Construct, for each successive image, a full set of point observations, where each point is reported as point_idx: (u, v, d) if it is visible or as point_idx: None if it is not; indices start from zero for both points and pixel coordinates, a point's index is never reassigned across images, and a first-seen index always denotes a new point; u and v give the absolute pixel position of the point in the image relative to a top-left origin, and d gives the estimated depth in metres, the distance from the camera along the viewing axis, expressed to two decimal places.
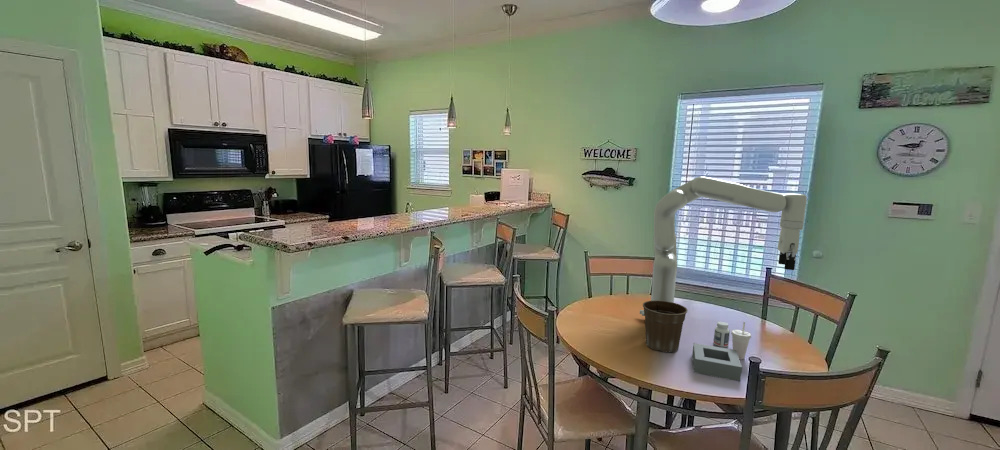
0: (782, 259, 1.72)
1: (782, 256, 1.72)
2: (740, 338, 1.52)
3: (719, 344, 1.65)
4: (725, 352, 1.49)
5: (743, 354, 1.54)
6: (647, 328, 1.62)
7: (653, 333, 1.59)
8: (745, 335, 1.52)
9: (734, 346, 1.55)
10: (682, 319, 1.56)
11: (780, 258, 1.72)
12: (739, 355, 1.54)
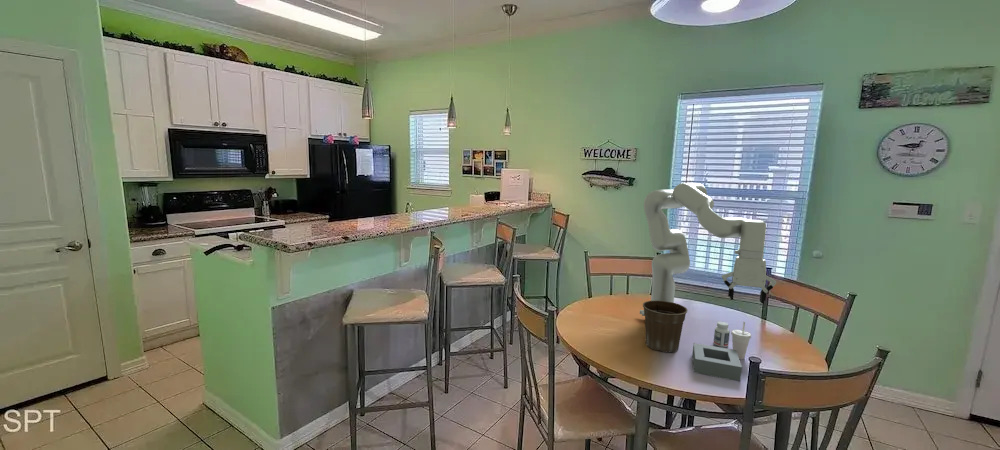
0: None
1: None
2: (740, 338, 1.52)
3: (719, 344, 1.65)
4: (725, 352, 1.49)
5: (743, 354, 1.54)
6: (647, 328, 1.62)
7: (653, 333, 1.59)
8: (745, 335, 1.52)
9: (734, 346, 1.55)
10: (682, 319, 1.56)
11: None
12: (739, 355, 1.54)
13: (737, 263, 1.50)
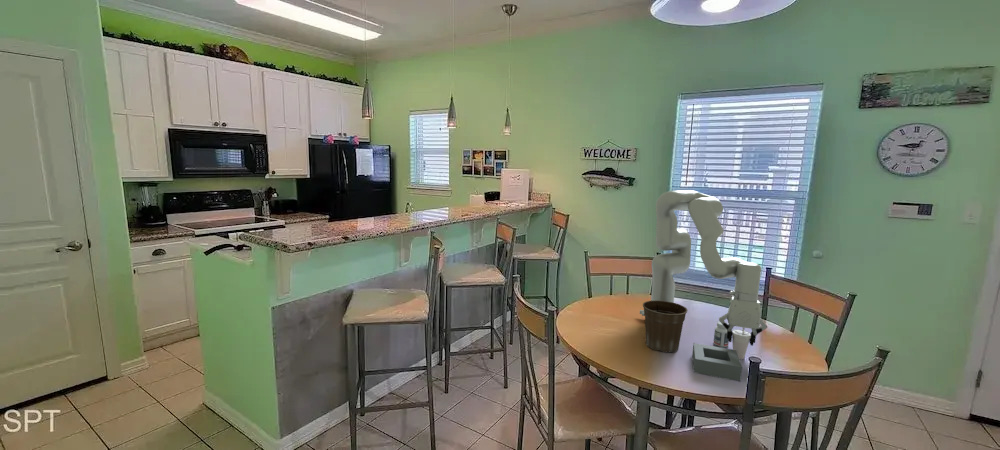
0: (731, 336, 1.55)
1: None
2: (740, 338, 1.52)
3: (719, 344, 1.65)
4: (725, 352, 1.49)
5: (743, 354, 1.54)
6: (647, 328, 1.62)
7: (653, 333, 1.59)
8: (746, 335, 1.52)
9: (734, 346, 1.55)
10: (682, 319, 1.56)
11: (731, 336, 1.55)
12: (739, 355, 1.54)
13: (732, 304, 1.52)
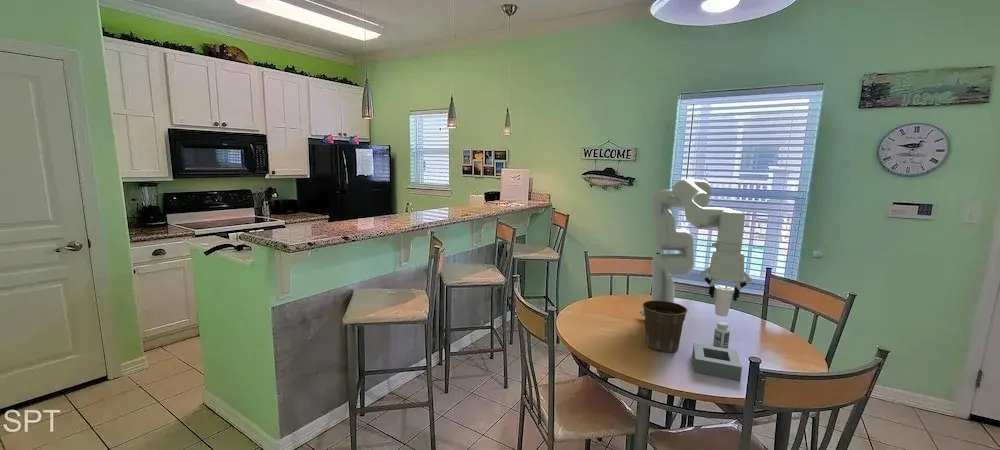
0: (713, 291, 1.44)
1: None
2: (723, 293, 1.41)
3: (719, 344, 1.65)
4: (725, 352, 1.49)
5: (726, 310, 1.43)
6: (647, 328, 1.62)
7: (653, 333, 1.59)
8: (729, 290, 1.41)
9: (716, 302, 1.44)
10: (682, 319, 1.56)
11: (713, 291, 1.44)
12: (722, 311, 1.43)
13: (714, 256, 1.41)
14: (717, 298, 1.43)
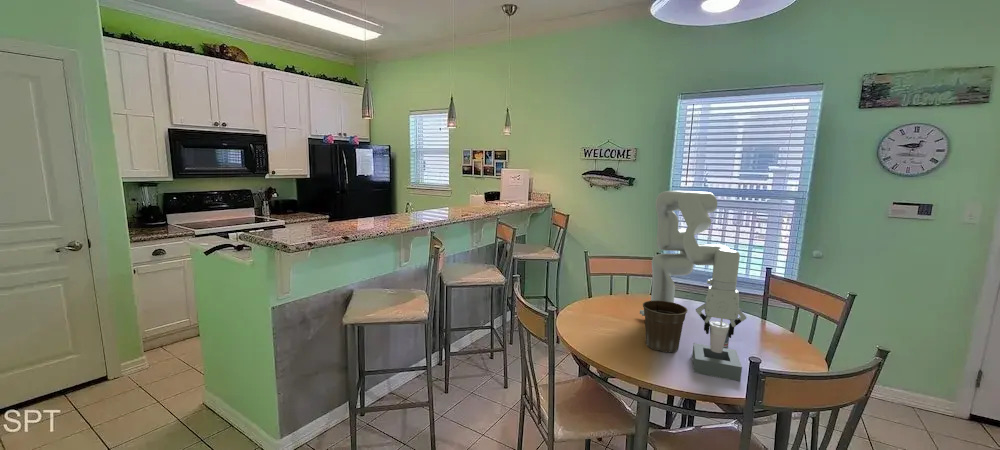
0: (708, 327, 1.46)
1: None
2: (718, 330, 1.43)
3: None
4: (725, 352, 1.49)
5: (721, 347, 1.44)
6: (647, 328, 1.62)
7: (653, 333, 1.59)
8: (723, 327, 1.43)
9: (711, 338, 1.45)
10: (682, 319, 1.56)
11: (708, 327, 1.46)
12: (717, 348, 1.45)
13: (709, 294, 1.43)
14: (712, 335, 1.45)
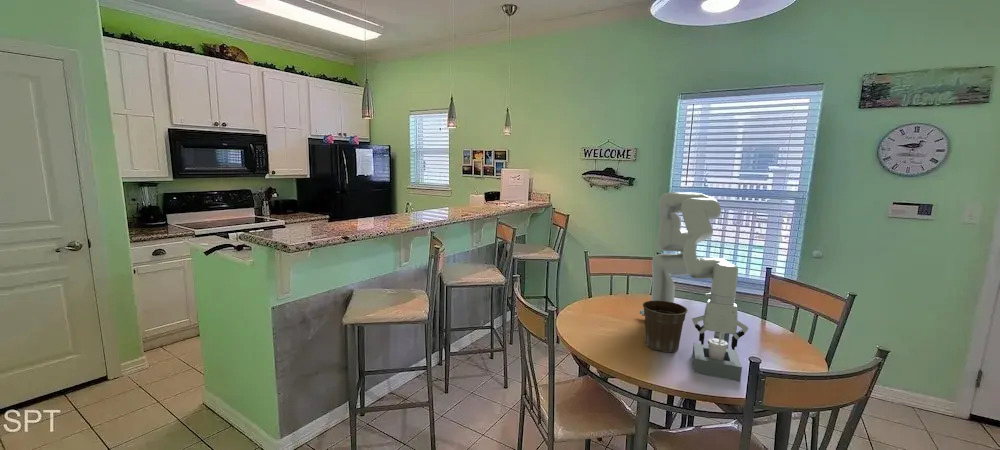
0: (703, 338, 1.47)
1: None
2: (716, 347, 1.44)
3: None
4: (725, 352, 1.49)
5: None
6: (647, 328, 1.62)
7: (653, 333, 1.59)
8: (722, 344, 1.44)
9: (710, 356, 1.46)
10: (682, 319, 1.56)
11: (703, 338, 1.46)
12: None
13: (708, 308, 1.44)
14: (711, 352, 1.46)
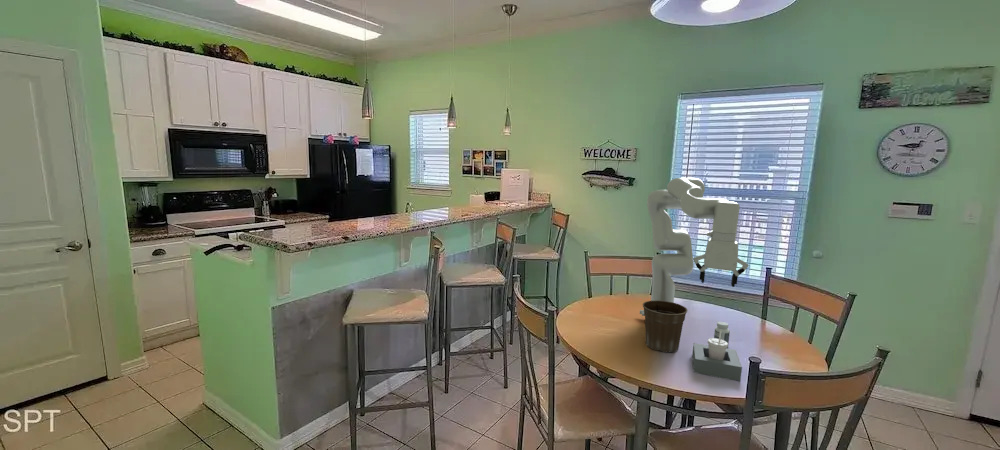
0: None
1: (704, 273, 1.49)
2: (716, 347, 1.44)
3: None
4: (725, 352, 1.49)
5: None
6: (647, 328, 1.62)
7: (653, 333, 1.59)
8: (722, 344, 1.44)
9: (710, 356, 1.46)
10: (682, 319, 1.56)
11: None
12: None
13: (709, 245, 1.45)
14: (711, 352, 1.46)
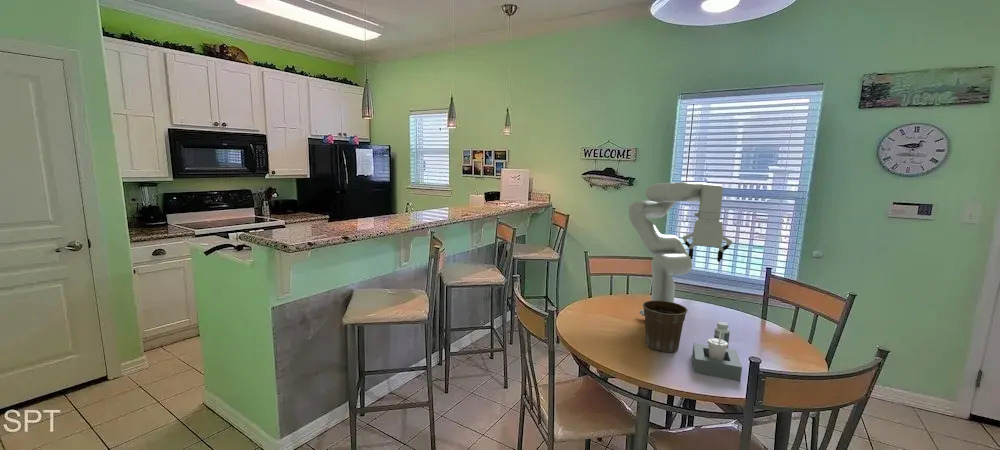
0: (692, 253, 1.63)
1: None
2: (716, 347, 1.44)
3: None
4: (725, 352, 1.49)
5: None
6: (647, 328, 1.62)
7: (653, 333, 1.59)
8: (722, 344, 1.44)
9: (710, 356, 1.46)
10: (682, 319, 1.56)
11: (692, 253, 1.63)
12: None
13: (696, 224, 1.60)
14: (711, 352, 1.46)
